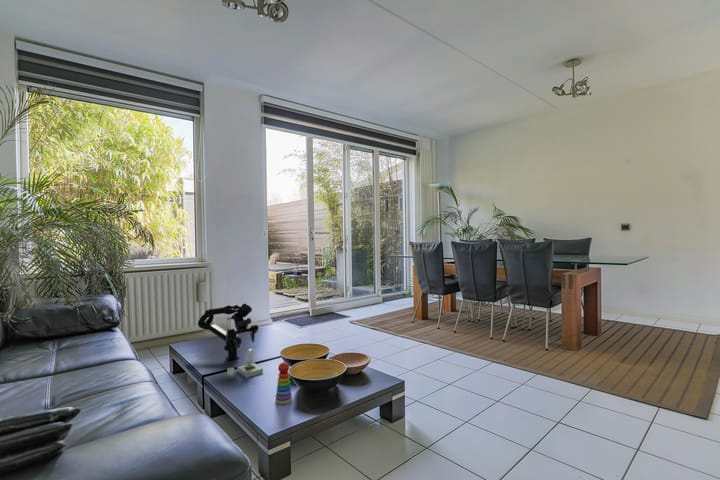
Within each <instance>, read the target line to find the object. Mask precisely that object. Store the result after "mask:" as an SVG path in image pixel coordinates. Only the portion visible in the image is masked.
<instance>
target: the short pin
mask: <svg viewBox="0 0 720 480" xmlns="http://www.w3.org/2000/svg"><path fill="white" fill-rule="evenodd" d="M226 369H227V373H226V376H227V381H234V380H235V367H234V366H230V367H227V368H226Z"/></svg>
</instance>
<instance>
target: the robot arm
mask: <svg viewBox="0 0 720 480" xmlns="http://www.w3.org/2000/svg"><path fill="white" fill-rule="evenodd" d="M252 311H253V309H252V306H250V305H249V304H247V303H245V302H244V303H242V305H241V306H240V305H238V304H237V303H232V304H230V305H227V306H223V307H217V308H208V309H206V310H205V312H204V314H202V315H201V316H200V318H199V320H198V321H197V325H198V327H199V328H200V329H202V330H207V331H210V332H212V333H213V334H214V335H215V336H217V337H219V338H220V339H221V340H223V341H224V342H225V345H224V347H223V349H224V351H226V352H227V356H226V357H225V360H228V361H229V362H230V361H234V360H235V361H236V360H238V359H240V357H239V356H238V349H239V348H240V347H241V344H242V338H241V337H240V335H239V334H242V333H243V334H244V333H248V332H249V335H250V339H251V341H252V343H254V342H255V334H257V333H258V330H259V326H258V325H257V324H254V325H250V324H252V319H251V318H250V317H247V316H248V315H249V314H250V313H252ZM221 314H225V315H228V316H229V315H231V317H230V320H233V322H234V325H235V326H234V327H235V328H231V329H227V331H226V330H224V329H223V328H222V327H220V326H218V325H217V324H216V323H215V321H214V316H215V315H221ZM246 317H247V318H246ZM244 318H246V319H244ZM249 325H250V327H249V328H248V326H249ZM235 329H236V330H235Z"/></svg>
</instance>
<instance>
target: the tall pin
mask: <svg viewBox="0 0 720 480" xmlns="http://www.w3.org/2000/svg"><path fill="white" fill-rule="evenodd" d="M245 356H246V365H247V370H251V369H253V363H254V349H253V348H248V349H246V355H245Z"/></svg>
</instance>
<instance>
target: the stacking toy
mask: <svg viewBox="0 0 720 480" xmlns="http://www.w3.org/2000/svg"><path fill="white" fill-rule="evenodd" d="M289 371H290V365H289V363H288V362H285V361H282V362H281V363H280V364H278V372H279V373H278V377H277V386H276V394H275V399H274V400H275V403H276V404H277V405H281V406H282V405H288V404H290V403H292V401H293V396H292V389H291V388H292V385H291V381H290V377H289V376H290V372H289Z"/></svg>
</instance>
